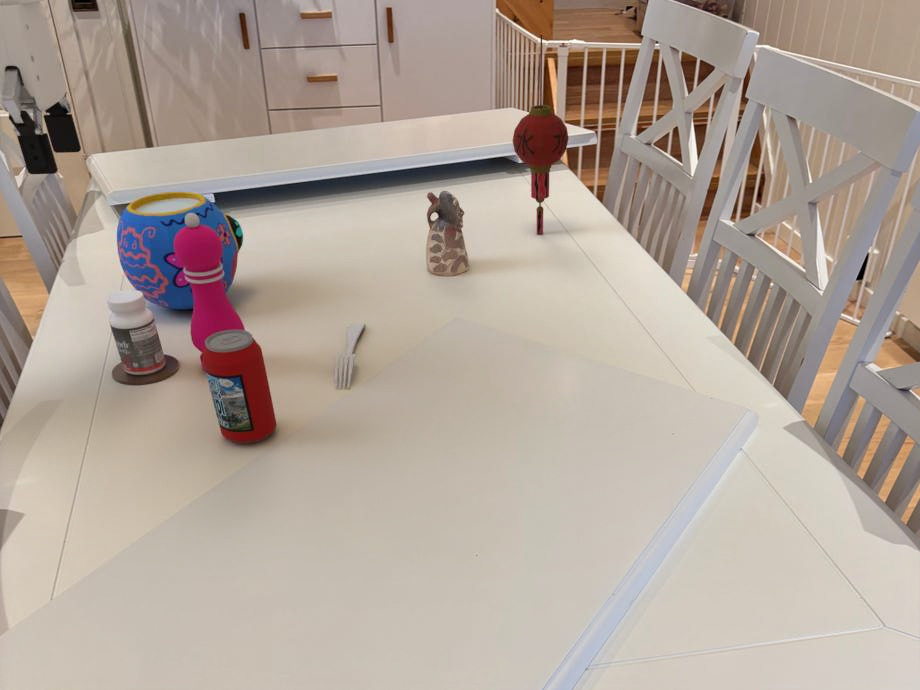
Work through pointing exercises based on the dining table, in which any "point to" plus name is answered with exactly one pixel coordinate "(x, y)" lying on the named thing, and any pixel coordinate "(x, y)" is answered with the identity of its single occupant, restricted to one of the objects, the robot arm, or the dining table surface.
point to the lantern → (540, 147)
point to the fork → (347, 354)
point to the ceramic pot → (170, 245)
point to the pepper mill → (205, 281)
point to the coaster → (164, 373)
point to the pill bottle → (135, 333)
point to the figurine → (445, 237)
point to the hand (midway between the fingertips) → (56, 162)
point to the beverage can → (239, 386)
